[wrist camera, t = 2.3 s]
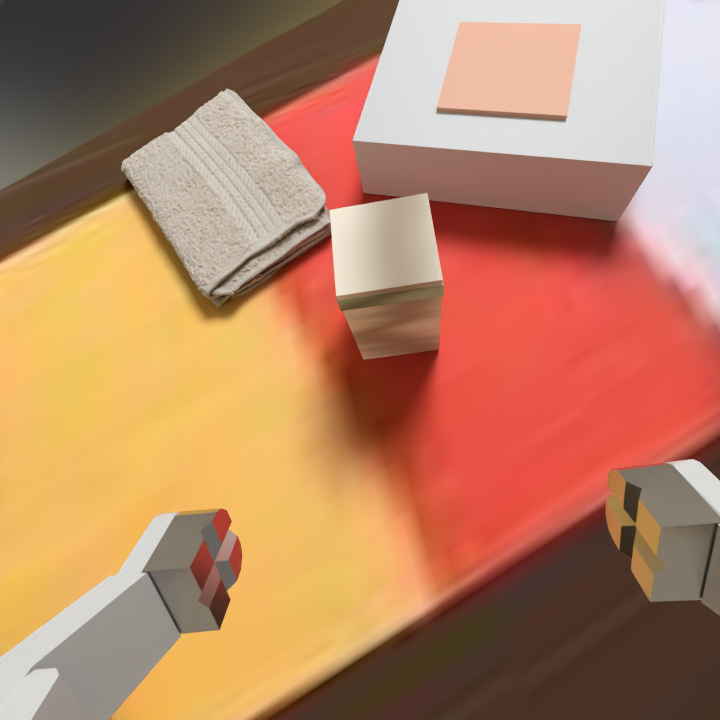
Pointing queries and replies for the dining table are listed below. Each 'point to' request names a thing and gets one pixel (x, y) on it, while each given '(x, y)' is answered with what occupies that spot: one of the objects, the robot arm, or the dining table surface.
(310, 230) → the washcloth
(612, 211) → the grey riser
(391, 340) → the block
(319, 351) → the dining table surface
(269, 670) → the dining table surface
